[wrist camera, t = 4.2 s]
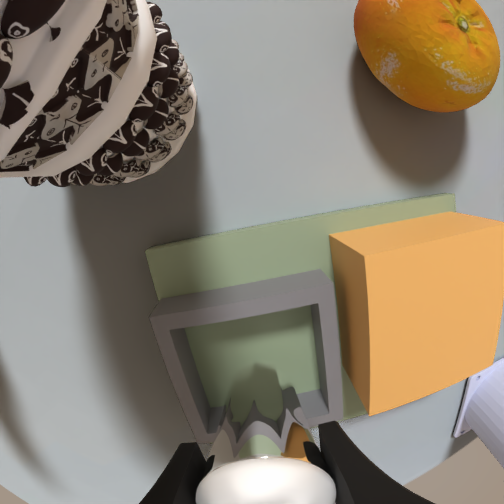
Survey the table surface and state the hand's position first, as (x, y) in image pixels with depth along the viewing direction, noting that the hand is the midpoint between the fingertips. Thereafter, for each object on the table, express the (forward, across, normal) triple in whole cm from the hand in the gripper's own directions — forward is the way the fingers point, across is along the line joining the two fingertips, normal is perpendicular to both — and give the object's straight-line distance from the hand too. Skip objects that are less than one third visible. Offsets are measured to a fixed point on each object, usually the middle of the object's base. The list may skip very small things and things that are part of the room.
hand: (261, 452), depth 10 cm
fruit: (+9, -12, -16) cm, 22 cm away
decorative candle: (+9, +4, -15) cm, 18 cm away
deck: (+8, -4, 0) cm, 10 cm away
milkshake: (+6, 0, +1) cm, 6 cm away
